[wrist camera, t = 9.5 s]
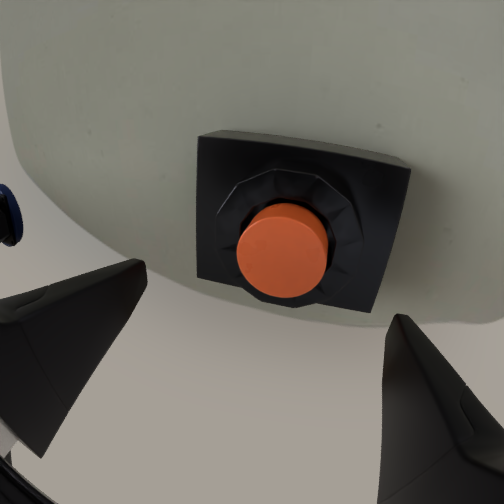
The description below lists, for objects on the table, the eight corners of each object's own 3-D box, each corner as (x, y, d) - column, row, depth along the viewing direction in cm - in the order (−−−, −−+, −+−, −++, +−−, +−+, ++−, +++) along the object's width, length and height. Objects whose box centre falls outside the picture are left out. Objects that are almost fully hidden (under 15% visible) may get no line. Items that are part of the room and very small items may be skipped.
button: (245, 268, 15) (234, 288, 13) (250, 196, 13) (238, 209, 12) (320, 283, 14) (316, 305, 13) (335, 210, 12) (334, 226, 11)
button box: (216, 253, 20) (182, 295, 16) (220, 129, 17) (179, 140, 12) (367, 282, 18) (372, 335, 14) (398, 157, 15) (421, 178, 10)
